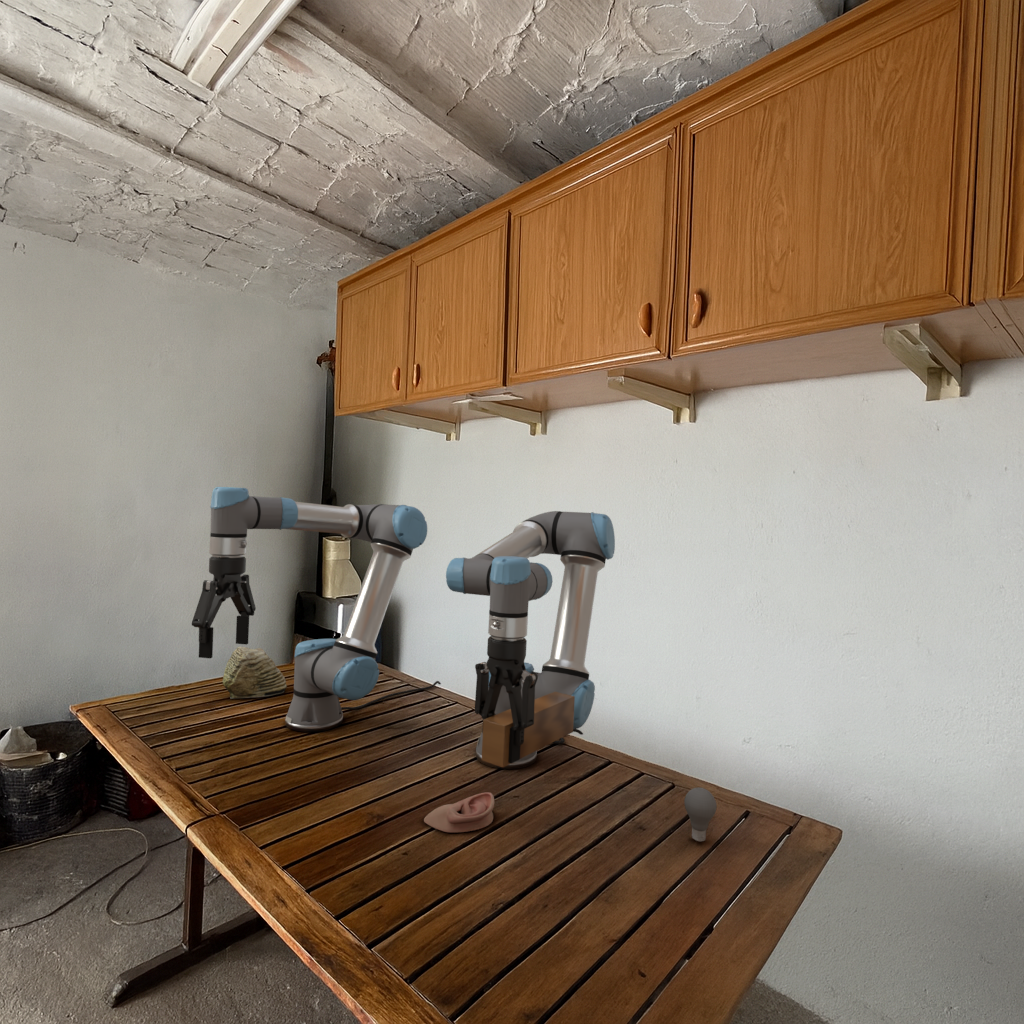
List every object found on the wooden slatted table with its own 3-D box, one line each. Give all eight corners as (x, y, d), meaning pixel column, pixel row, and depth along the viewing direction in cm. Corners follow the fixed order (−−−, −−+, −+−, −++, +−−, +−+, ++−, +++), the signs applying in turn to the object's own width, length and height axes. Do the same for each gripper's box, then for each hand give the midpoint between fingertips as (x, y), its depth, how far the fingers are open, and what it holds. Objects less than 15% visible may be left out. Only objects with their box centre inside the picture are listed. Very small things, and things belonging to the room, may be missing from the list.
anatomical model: (419, 808, 122) (437, 782, 134) (418, 828, 122) (437, 801, 134) (485, 817, 120) (499, 791, 131) (484, 838, 120) (498, 810, 131)
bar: (553, 726, 142) (554, 691, 142) (573, 732, 139) (574, 696, 139) (481, 760, 122) (483, 719, 122) (502, 767, 119) (504, 726, 118)
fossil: (218, 695, 195) (220, 647, 195) (278, 685, 208) (279, 640, 207) (228, 703, 189) (230, 653, 188) (289, 692, 201) (290, 645, 201)
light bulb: (678, 831, 125) (680, 781, 125) (707, 831, 126) (709, 782, 126) (689, 848, 119) (691, 796, 119) (719, 848, 120) (722, 796, 120)
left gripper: (208, 561, 129) (204, 665, 129) (272, 552, 153) (269, 639, 154) (174, 559, 130) (171, 662, 130) (244, 550, 154) (241, 637, 155)
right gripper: (458, 632, 125) (453, 749, 125) (535, 647, 114) (529, 776, 114) (482, 627, 131) (477, 739, 131) (557, 641, 120) (551, 764, 120)
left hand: (224, 650), depth 142 cm, fingers open, 13 cm apart
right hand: (501, 756), depth 122 cm, fingers closed on bar, 5 cm apart
